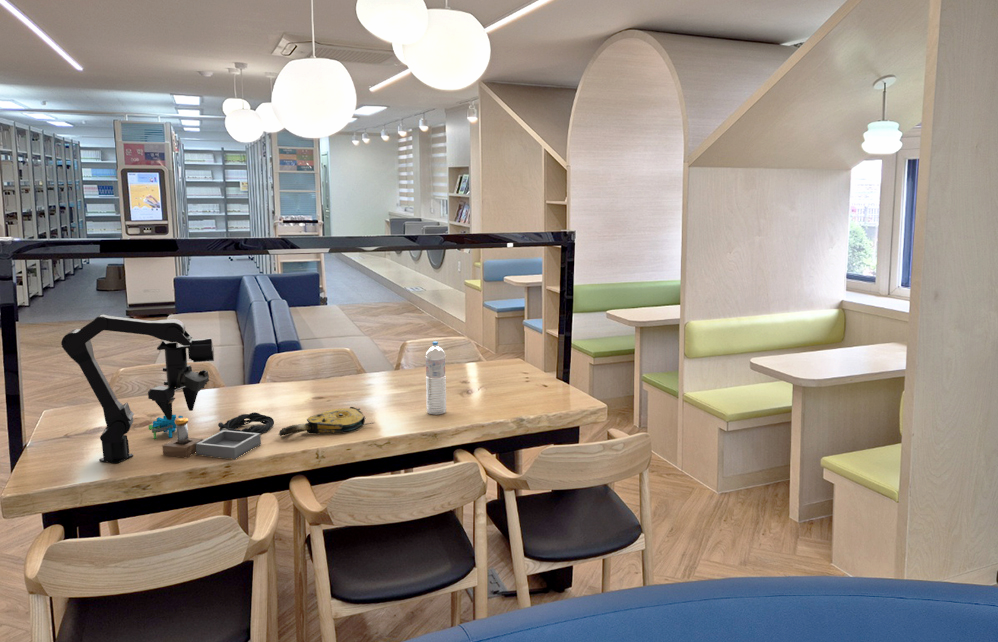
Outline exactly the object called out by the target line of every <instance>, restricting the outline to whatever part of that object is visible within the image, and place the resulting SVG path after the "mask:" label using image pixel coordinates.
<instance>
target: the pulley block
mask: <svg viewBox="0 0 998 642" xmlns="http://www.w3.org/2000/svg"><path fill="white" fill-rule="evenodd" d="M366 418H367V417H366V416H365V415H364V413H363V412H362V410H361V408H357V407H355V406H350V407H349V408H348V407H345V408H343V407H342V408H336V409H335V408H334V409H329V410H326V411H324V412H323V411H322V412H321V413H317V414H314V415H311V416H310V417H307V418H306V421H307V422H306V423H300V424H292V425H289V426H285V427H283V428H281V429H280V430H279V433H278V436H279V437H282V436H287V435H292V434H297V433H302V432H307V433H308V434H309V435H326V434H327V435H334V434H335V435H337V434H339V435H340V434H344V433H345V434H346V433H352V432H356V431H358V430H360V429H361V428H363V427H364V426H366V425H372V424H376V422H375V421H374V422H370V423H365V421H366V420H365V419H366Z"/></svg>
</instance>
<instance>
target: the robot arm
mask: <svg viewBox="0 0 998 642" xmlns="http://www.w3.org/2000/svg"><path fill="white" fill-rule="evenodd" d="M104 331H106V332H107V331H108V332H116V333H117V332H118V333H124V334H125V333H126V334H134V335H135V334H137V335H144V336H150V337H154V338H156V339H159V340H161V342H160V344H158V346H157V348H156V350H157V351H164V359H165V360H164V361H165V367H162V372H165V373H166V374H165V375H166V380H165V381H163V385H164V386H162V385H161V386H160V385H158V386H155V387H152V388H150V389H149V390H148V391H147V396H148V398H147V399H148V400H152V401H153V402H155V403H156V405H157V406H158V407H159V409H160V410H161V411H162V413H163V415H164V416H166V418H167V419H168V420H172V415H173V402H174V401H175V400H176V397H175V395H176V393H175V392H177V391H180V390H182V393H183V397H184V399H185V402H186V403H185V404H186V406H187V409H188V411H189V412H190V411H191V412H193V411H194V407H195V405H196V401H197V397H198V394H199V392H200V391H201V390H202V389H205V386H206V385H208V383H209V381H210V379H209V378H210V376H209V371H207V370H206V369H202V370H200V371H199V372H198V371H196V372H195V371H193V368H192V366H191V365H188V360H187V359H189V360H190V361H193V363H202V362H204V363H205V362H214V361H215V350H214V349H215V347H213V338H212V337H207V338H199V339H198V338H197V339H196V338H195V339H194V338H193V336H192V335H191V334H190V333H189V332H188V330H186V325H185V324H184V322H182V321H181V320H179V319H177V318H174V319H173V318H172V319H170V318H169V319H158V320H145V319H138V318H131V317H130V318H129V317H121V316H113V315H107V314H99V315H98V316H97V317H96V318H94V319H93V320H92V321H90V322H88V324H86V325H85V326H83V327H81V328H76V329H72V330H70V331H69V332H68V333H67V334H65V335H64V336H63V337H62V340H61V342H60V344H61V347H62V349H63V350H64V351H65V353H66V354H67V356H69V358H71V360H73V361H74V362H75V363H76V364H78V365H79V368H80V370H81V371H82V373H83V375H84V376H85V379H86V380H87V382H88V384H89V386H90V387H91V389H92V391H93V393H94V395H95V397H96V399H97V400H98V402H99V404H100V405H101V407H102V411H103V416H104V420H105V425H106V427H105V428H104V430H103V432H102V433H101V435H100V436H99V439H100V441H101V449H102V457H101V458H100V459H99V460H98V462H102V463H111V464H118V463H122V462H124V461H126V460H127V459H130V458H132V457H134V454H133V453H130V445H129V439H128V435H127V434H128V433H129V431H130V429H131V427H132V425H133V423H134V415H135V413H134V412H133V411H132V410H131V408H130V406H129V403H128V402H126V403H124V404H123V403H121V402H120V401H119V400H118V398H117V397H116V395H115V393H114V391H113V388H112V387H111V385H110V383H109V382H108V380H107V377H106V376H105V374H104V372H103V370H102V368H101V366H100V365H99V364H98V361H97V360H96V358H95V355H94V354H95V353H94V349H93V344H92V341H91V340H92V339H94V338H95V337H96V336H97V335H99V334H101V332H104ZM187 349H188V350H187ZM187 351H188V352H187ZM187 353H188V354H187ZM187 356H188V358H187ZM152 401H151V402H152Z"/></svg>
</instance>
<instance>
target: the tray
mask: <svg viewBox="0 0 998 642" xmlns="http://www.w3.org/2000/svg"><path fill="white" fill-rule="evenodd" d="M203 439H204V440H202V441H200V442H198V443H196V453H195V454H196V456H199V455H203V456H202V457H208V456H212V458H218V457H220V459H227V458H232V459H231V460H236V458H237V459H238V457H239V456H240V457H242V456H244V455H245V454H247V453H248V451H249V452H250V450H251V449H252V450H254V449H256V448H257V446H258V445H259V446H261V445H262V438H261V434H260V433H250V432H239V431H229V430H222V431H220V430H219V432H216V433H215V434H213V435H211V436H209V437H207V438H203ZM260 444H261V445H260ZM259 446H258V447H259ZM255 447H256V448H255ZM253 448H254V449H253ZM252 450H251V451H252ZM246 452H247V453H246ZM244 453H245V454H244ZM243 454H244V455H243ZM241 455H242V456H241ZM240 457H239V458H240Z"/></svg>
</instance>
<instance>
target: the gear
mask: <svg viewBox="0 0 998 642" xmlns="http://www.w3.org/2000/svg"><path fill="white" fill-rule="evenodd" d="M178 418H184V416H183V415H178ZM178 418H177V414H172V420H168V419H167V418H166V416H165V415H163V416H162V417H157V418H156V419H155V420H153V421H152V424H149V425H148V430H149V431H151V433H153V439H154V440H156V439H157V433H161V432H163V433H168V439H172V438H173V432H175V431H176V432H177V429H176V424H175V419H178Z"/></svg>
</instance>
